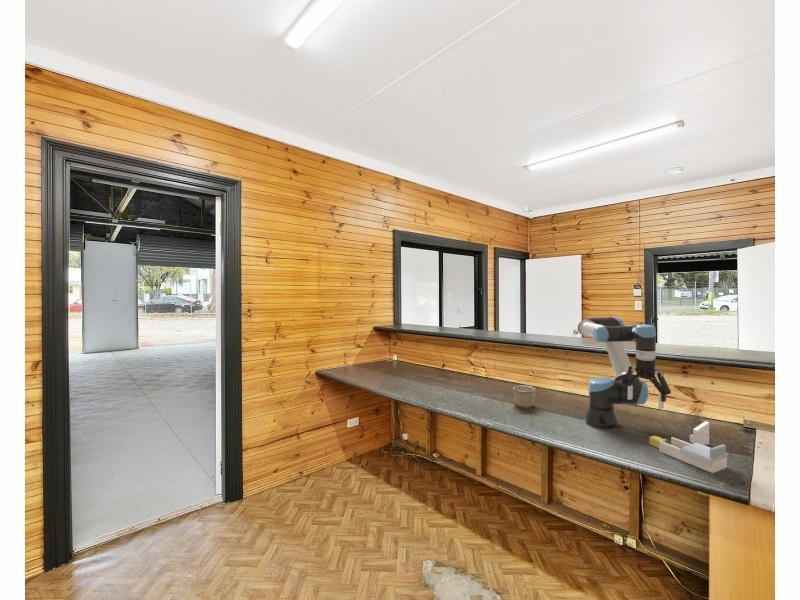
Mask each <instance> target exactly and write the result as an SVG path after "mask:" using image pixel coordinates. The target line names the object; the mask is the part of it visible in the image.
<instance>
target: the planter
mask: <svg viewBox="0 0 800 600" xmlns="http://www.w3.org/2000/svg"><path fill="white" fill-rule="evenodd" d="M512 391H513V398H514V405H515V406H516V407H517V406H518V408H520V407H521V409H531V408H533V407H534V405H535V398H536V397H535V396H536V388H535V387H533V386H530V385H525V384H524V385H516V386H513V387H512Z"/></svg>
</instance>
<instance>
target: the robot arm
mask: <svg viewBox="0 0 800 600" xmlns="http://www.w3.org/2000/svg"><path fill="white" fill-rule="evenodd" d="M577 331H578V334H580V335H581V336H582V337H585V338H593V340H594V341H595V342H597V343H603V344H605V347H606V351H607V353H608V357H609V360H610V363H611V366H612V370H613V373H614V375H615V377H614V378H611V377H609V376H608V377H604V376H601V377H595V378H591V379H590V380H589V382H588V387H587V388H588V409H587V412H586V415H585V423H586V424H587V425H588V424H589V426H590V425H591V426H590V427H593V426H594V427H593V428H596V427H597V429H601V428H602V429H603V430H613V429H617V428H618V427H620V426H619V425H620V424H619V422H620V421H619V418H618V417H617V414H616V410H615V405H631V406H632V405H633V406H638V405H640V406H641V405H645V404H646V403H647V401H648V398H649V388H648V385H647V382H646V381H643V380H640V379H644V380H648V381H649V382H651V383H652V384H653V386H654V387H655V388H656V389H657V391H658V392H659V394H658V409H659V410H661V409H663V408H665V402H666V401H667V395H671V394H672V390H671V389H670V387H669V384H668V383H667V381H666V378H665V377H664V372H663V371H656V360H655V359H656V345H657V344H656V343H657V342H656V338H657V337H656V336H657V332H656V327H655V326H654V325H653V324H628V325H625V323H624V322H623V320H622V319H621V318H620V317H617V316H615V317H614V316H609V317H608V316H607V317H604V316H603V317H588V318H584V319H582V320H581V321H580V322H579V323H578V324H577ZM625 342H628V343H629V342H630V343H631V342H634V343H635V365H631V363H630V362H631V361H630V358H629V356H628V354H627V350H626V349H625V346H624V343H625ZM634 372H635V373H636V374H635V373H634ZM655 375H656V376H655ZM657 378H658V379H657Z"/></svg>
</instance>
